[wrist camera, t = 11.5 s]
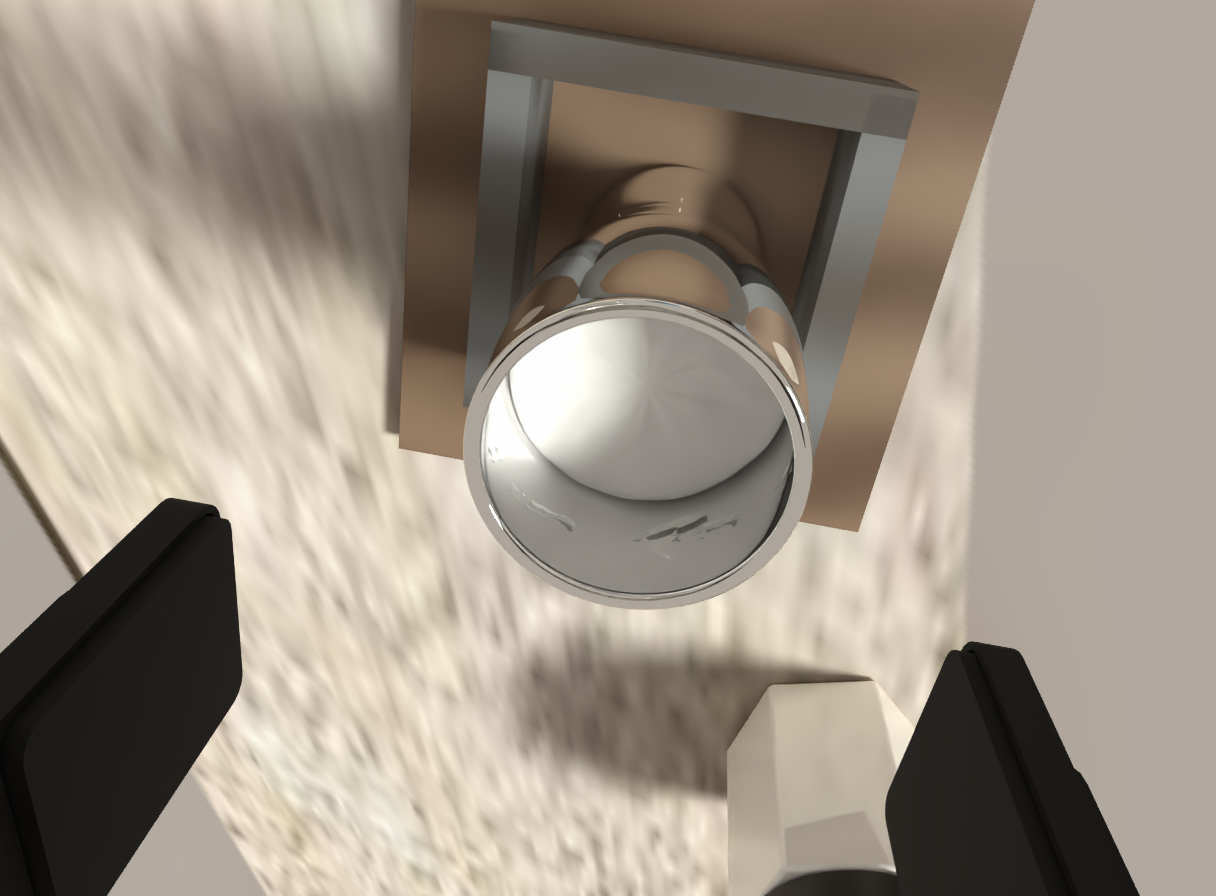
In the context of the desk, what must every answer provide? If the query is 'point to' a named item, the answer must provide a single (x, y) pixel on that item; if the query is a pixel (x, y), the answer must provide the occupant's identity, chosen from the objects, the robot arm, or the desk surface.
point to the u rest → (713, 143)
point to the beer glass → (646, 404)
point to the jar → (814, 792)
